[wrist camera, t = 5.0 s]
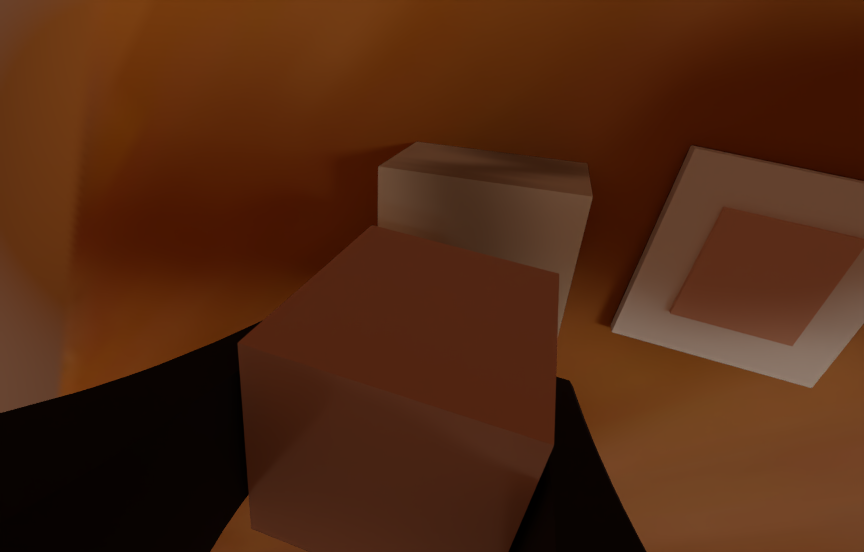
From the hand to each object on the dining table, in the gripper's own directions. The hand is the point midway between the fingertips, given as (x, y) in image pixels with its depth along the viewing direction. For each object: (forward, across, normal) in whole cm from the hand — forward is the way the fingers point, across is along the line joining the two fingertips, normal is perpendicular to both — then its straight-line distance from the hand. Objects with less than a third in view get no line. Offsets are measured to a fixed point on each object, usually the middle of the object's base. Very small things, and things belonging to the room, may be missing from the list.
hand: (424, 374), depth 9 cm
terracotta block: (+2, 0, 0) cm, 2 cm away
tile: (+8, -9, -1) cm, 12 cm away
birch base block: (+9, 0, 0) cm, 9 cm away
